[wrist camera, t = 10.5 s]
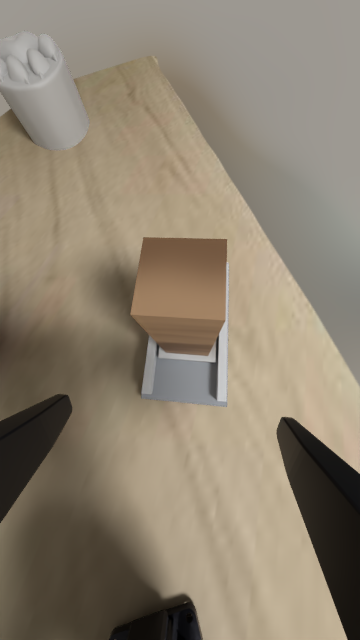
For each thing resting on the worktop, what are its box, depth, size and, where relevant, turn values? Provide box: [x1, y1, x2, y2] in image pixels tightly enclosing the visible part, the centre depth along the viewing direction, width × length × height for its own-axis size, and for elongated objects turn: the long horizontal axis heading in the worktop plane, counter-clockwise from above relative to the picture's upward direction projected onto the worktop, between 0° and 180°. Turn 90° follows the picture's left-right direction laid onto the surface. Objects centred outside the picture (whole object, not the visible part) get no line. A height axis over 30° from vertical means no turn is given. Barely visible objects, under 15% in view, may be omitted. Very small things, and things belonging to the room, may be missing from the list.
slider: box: [141, 263, 229, 407], centre depth 20 cm, size 15×8×2 cm, turn 175°
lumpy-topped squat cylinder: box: [0, 31, 90, 150], centre depth 30 cm, size 10×13×9 cm
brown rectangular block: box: [130, 237, 227, 363], centre depth 14 cm, size 5×5×12 cm
